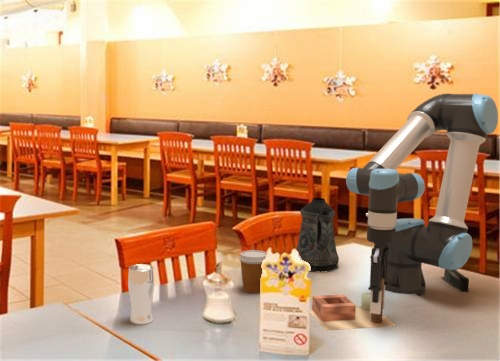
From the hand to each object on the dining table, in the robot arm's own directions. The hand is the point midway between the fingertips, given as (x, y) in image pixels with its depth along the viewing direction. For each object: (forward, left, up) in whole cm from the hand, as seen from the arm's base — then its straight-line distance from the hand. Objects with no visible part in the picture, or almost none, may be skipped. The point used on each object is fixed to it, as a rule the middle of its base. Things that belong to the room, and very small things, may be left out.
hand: (377, 310), depth 170 cm
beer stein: (-2, -57, -4) cm, 57 cm away
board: (+6, -4, -4) cm, 8 cm away
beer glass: (+63, -13, -4) cm, 65 cm away
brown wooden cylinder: (0, 0, -3) cm, 3 cm away
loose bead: (-2, -10, -3) cm, 11 cm away
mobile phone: (-41, -30, -5) cm, 51 cm away
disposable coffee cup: (+27, -34, -4) cm, 44 cm away
